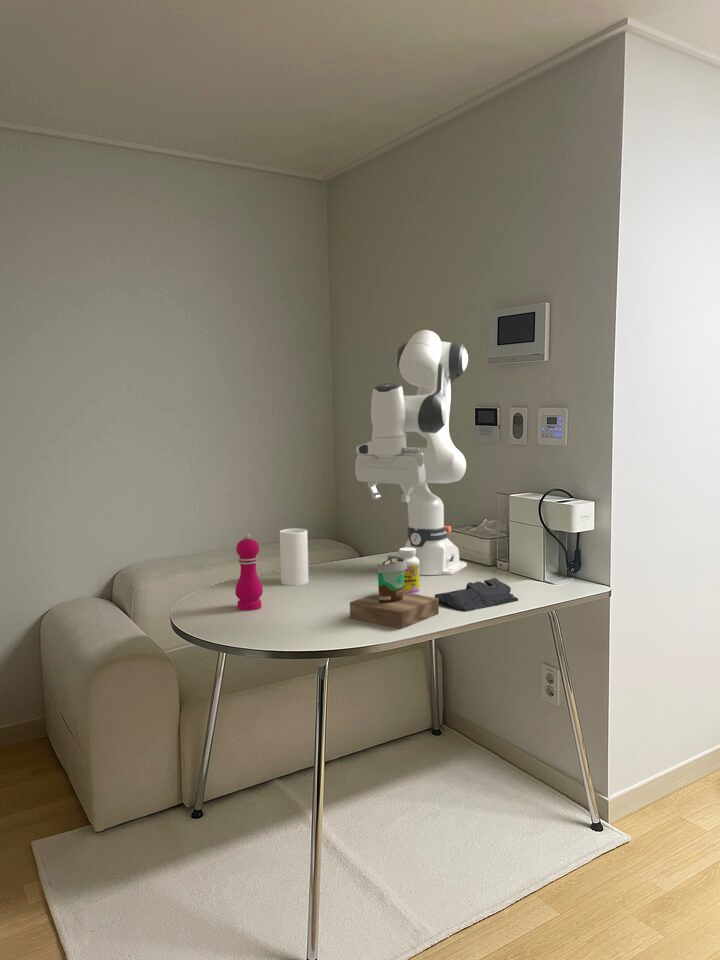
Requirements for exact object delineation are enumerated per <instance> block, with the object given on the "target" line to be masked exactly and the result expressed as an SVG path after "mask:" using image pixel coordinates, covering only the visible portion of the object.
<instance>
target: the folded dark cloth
mask: <svg viewBox="0 0 720 960" xmlns="http://www.w3.org/2000/svg"><path fill="white" fill-rule="evenodd" d="M511 591H512V590H511V587H510V585H509V584H506V583H505V582H502V581H501V580H499V579H498V578H497V577H492V578H490V579H483V582H482V581H479V580H478V581H474V582H472V581H471V582H470V581H469V582H467V584H466V587H465V588H464V589H458V590H452V591H448V592H440V593H436V594H434V598H439V603H440V602H441V603H443V604H446V605H448V606H449V607H450V608H453V609H455V610H457V611H459V612H460V611H462V612H472V611H476V610H480V609H487V608H491V607H497V606H502V605H506V604H510V603H515V602H519V598H518V597H516V596H514V594H513V593H511Z"/></svg>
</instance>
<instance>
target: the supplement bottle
mask: <svg viewBox="0 0 720 960" xmlns="http://www.w3.org/2000/svg"><path fill="white" fill-rule="evenodd" d="M398 553H399V557H402V558H404V559H405V561H406V564H407V569H405V570H404V586H403V592H405V593H411V594H417V595H420V575H419V559H418V558H416V557H415V554H416V549H415V548H409V547H406V548H405V547H401V548H399V550H398Z"/></svg>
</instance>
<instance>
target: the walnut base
mask: <svg viewBox="0 0 720 960" xmlns="http://www.w3.org/2000/svg"><path fill="white" fill-rule="evenodd" d="M439 604H440V601H439V598H435V596H434V597H433V596H432V597H431V596H427V595H422V594H418V595H417V594H411V593H405V592H403V599H402V600H400V601H397V602H391V603H379V592H376V593H373V594H370V595H366V596H365V597H361V598H358V599H355V600H352V601H350V602H349V618H351V619H353V620H359V621H364V622H368V623H371V624H372V623H373V624H378V625H383V626H388V627H392V628H397V629H402V630H403V629H405V628H408V627H410V626H413V625H415V624H418V623H420V622H423V621H424V620H427V619H429V618H431V617H434V616H436V615H439V610H440V607H439V606H440V605H439Z"/></svg>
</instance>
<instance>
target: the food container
mask: <svg viewBox="0 0 720 960" xmlns="http://www.w3.org/2000/svg"><path fill="white" fill-rule="evenodd" d="M405 569H407V564H406V561H405V559H404V558H402V557H400V555H399V556H398V555H391V554H389V555H387V559H386V560H384V561H383V562H382V563H377V570H376V572H377V583H378V593H379V603H391V602H397V601H400V600H402V599H403V586H404V570H405Z"/></svg>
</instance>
